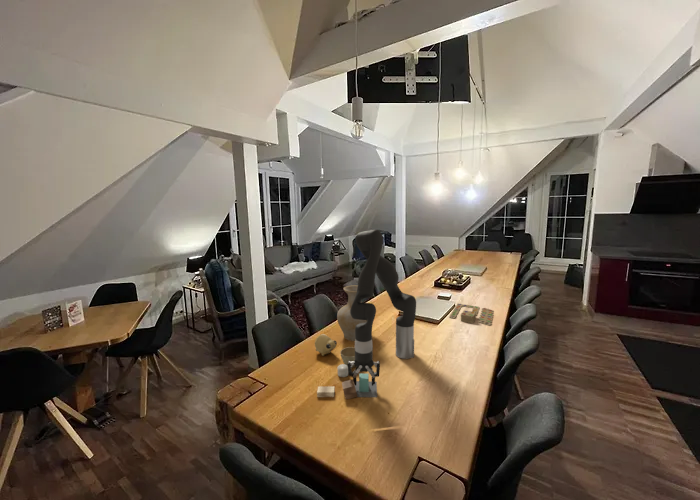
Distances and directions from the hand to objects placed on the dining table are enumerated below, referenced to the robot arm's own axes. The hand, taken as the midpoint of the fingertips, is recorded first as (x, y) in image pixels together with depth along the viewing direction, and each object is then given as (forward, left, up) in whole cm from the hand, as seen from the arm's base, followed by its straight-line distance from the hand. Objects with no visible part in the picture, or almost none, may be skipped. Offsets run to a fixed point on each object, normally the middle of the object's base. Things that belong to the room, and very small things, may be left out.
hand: (364, 384), depth 129 cm
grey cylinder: (+10, -11, -3) cm, 15 cm away
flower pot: (+7, -20, -3) cm, 21 cm away
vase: (+6, -53, -3) cm, 53 cm away
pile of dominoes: (-76, -90, -4) cm, 118 cm away
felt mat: (0, 0, -3) cm, 3 cm away
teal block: (0, 0, -2) cm, 2 cm away
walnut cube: (+6, +4, -2) cm, 7 cm away
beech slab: (+16, +4, -3) cm, 17 cm away
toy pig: (+21, -31, -3) cm, 38 cm away
